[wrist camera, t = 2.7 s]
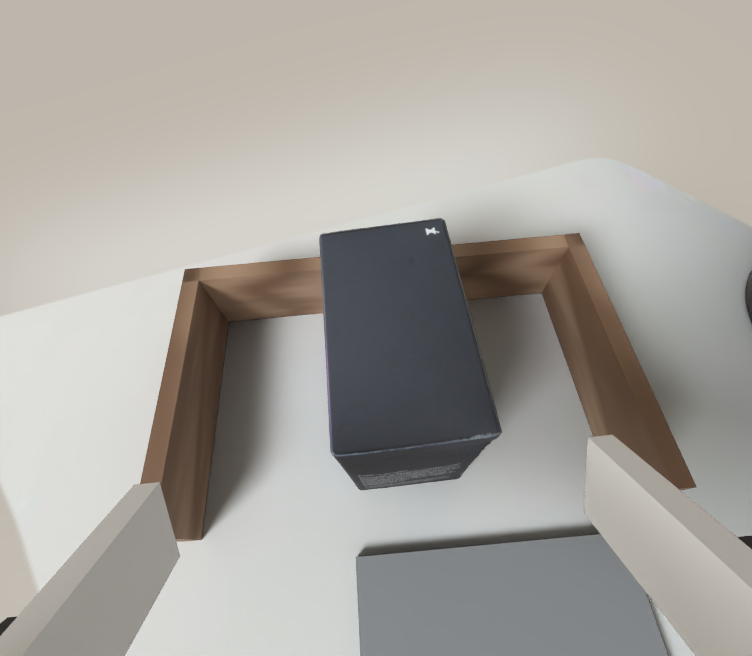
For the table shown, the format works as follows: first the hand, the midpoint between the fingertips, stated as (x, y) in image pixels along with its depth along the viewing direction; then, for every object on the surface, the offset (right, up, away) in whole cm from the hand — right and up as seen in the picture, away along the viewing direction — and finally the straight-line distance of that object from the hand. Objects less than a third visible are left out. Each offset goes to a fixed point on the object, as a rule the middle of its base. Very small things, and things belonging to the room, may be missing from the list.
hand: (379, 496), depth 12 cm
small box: (+1, +1, +13) cm, 13 cm away
